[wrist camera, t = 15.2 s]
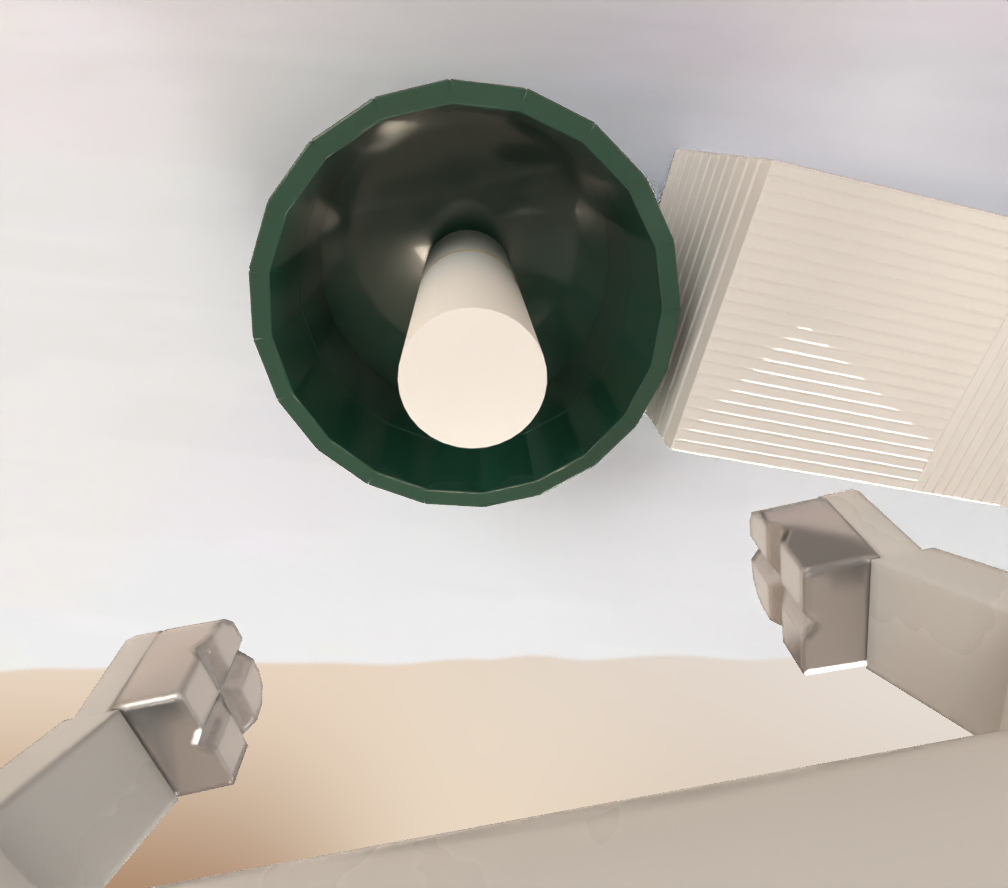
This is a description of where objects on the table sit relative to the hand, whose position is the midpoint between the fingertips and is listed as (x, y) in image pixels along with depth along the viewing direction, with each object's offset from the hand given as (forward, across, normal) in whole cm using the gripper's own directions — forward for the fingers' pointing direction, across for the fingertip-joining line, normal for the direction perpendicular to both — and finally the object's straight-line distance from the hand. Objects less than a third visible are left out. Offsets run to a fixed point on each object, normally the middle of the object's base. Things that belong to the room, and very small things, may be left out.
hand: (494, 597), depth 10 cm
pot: (+25, 0, 0) cm, 25 cm away
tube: (+25, 0, 0) cm, 25 cm away
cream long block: (+26, -23, +8) cm, 35 cm away
